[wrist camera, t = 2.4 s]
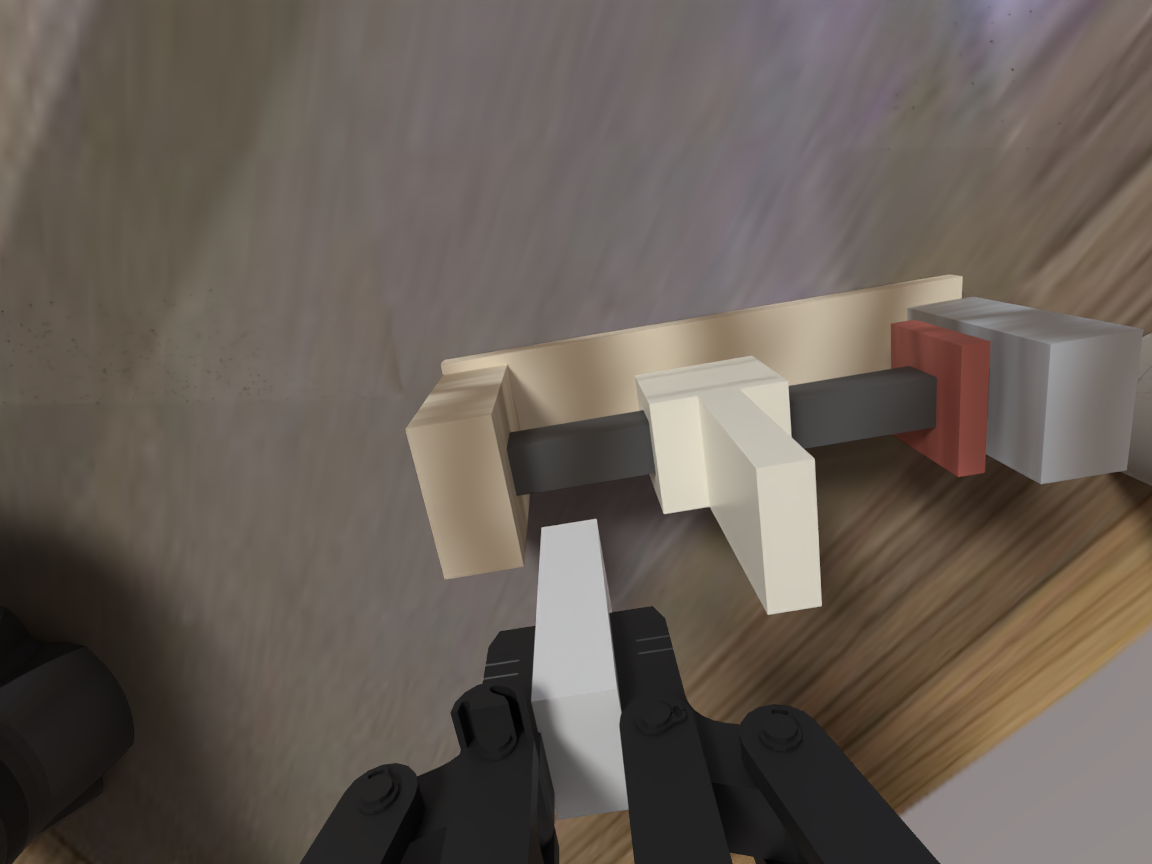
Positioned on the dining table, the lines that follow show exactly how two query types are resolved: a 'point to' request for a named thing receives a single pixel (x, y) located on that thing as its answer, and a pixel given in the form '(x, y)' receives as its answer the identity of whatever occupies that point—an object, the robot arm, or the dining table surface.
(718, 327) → the rail
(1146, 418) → the thermos bottle
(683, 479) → the cream t-shaped block
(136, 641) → the dining table surface
